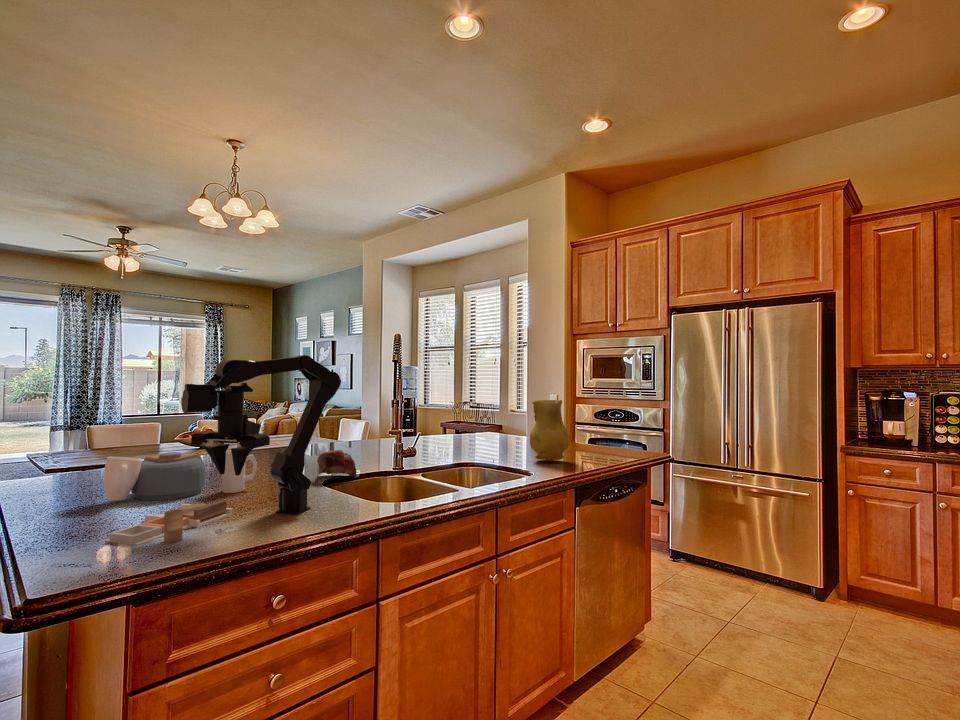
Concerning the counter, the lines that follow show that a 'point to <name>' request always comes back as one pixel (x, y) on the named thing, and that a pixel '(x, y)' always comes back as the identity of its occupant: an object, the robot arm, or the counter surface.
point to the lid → (204, 510)
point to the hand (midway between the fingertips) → (230, 474)
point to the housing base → (197, 522)
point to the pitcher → (549, 430)
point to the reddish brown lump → (336, 463)
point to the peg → (173, 526)
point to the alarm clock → (170, 476)
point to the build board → (143, 532)
